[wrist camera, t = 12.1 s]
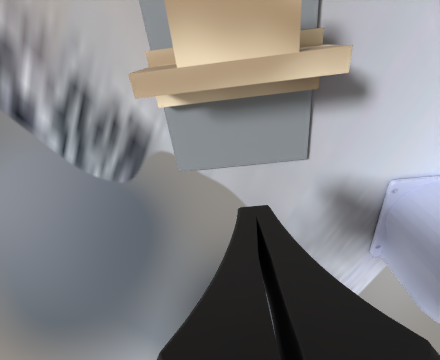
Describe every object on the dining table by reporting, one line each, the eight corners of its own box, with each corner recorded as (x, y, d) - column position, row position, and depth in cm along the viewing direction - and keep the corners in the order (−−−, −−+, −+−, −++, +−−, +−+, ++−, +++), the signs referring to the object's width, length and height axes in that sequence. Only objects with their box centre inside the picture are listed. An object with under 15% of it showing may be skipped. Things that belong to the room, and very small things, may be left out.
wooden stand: (312, 85, 17) (344, 101, 13) (162, 103, 18) (142, 124, 13) (320, -22, 14) (366, -52, 10) (139, 5, 15) (104, -11, 10)
